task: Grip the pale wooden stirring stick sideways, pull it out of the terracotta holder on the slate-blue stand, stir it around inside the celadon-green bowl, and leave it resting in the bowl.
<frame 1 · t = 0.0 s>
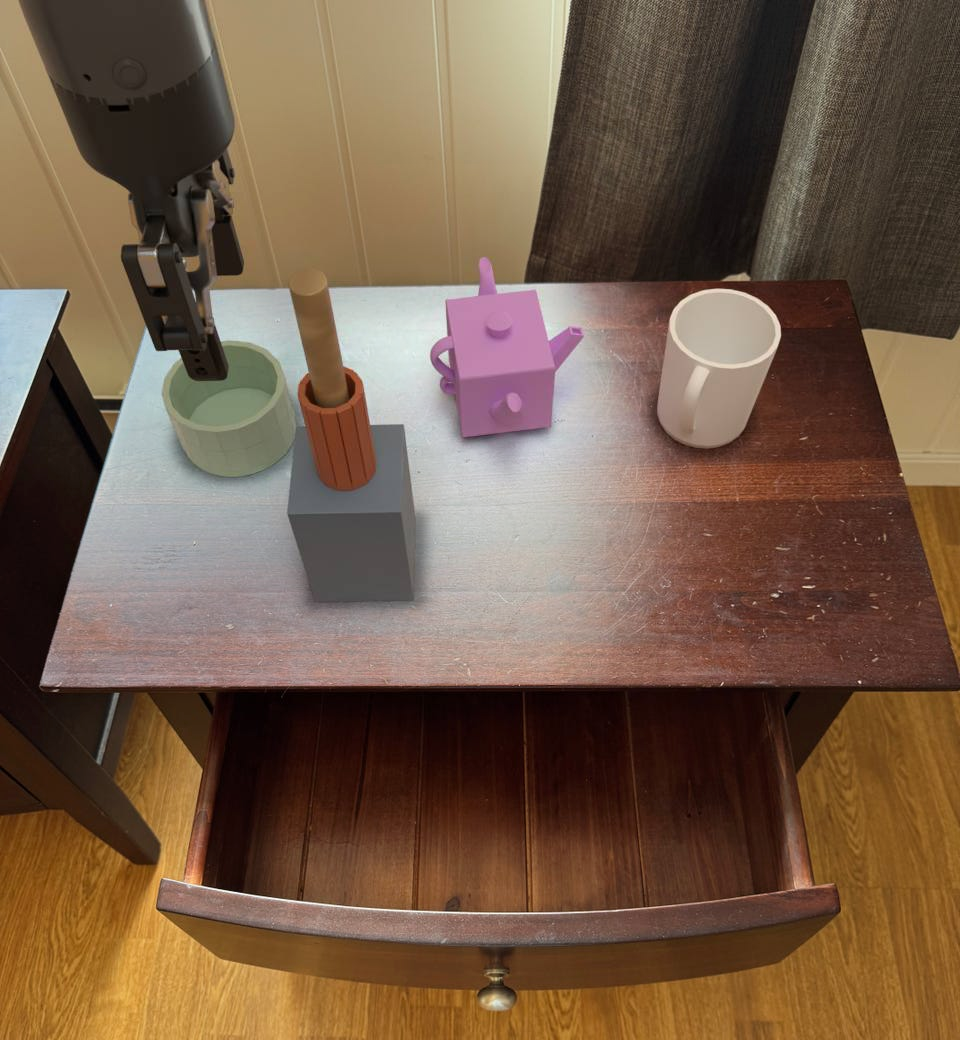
hand: (219, 322, 57), 26 cm above the nightstand, tool pointing down, fingers open, 8 cm apart
bowl: (239, 432, 87), on the nightstand
teapot: (506, 402, 88), on the nightstand
stick: (345, 462, 69), point 13 cm above the nightstand, touching holder
mug: (696, 424, 87), on the nightstand
holder: (366, 560, 80), on the nightstand
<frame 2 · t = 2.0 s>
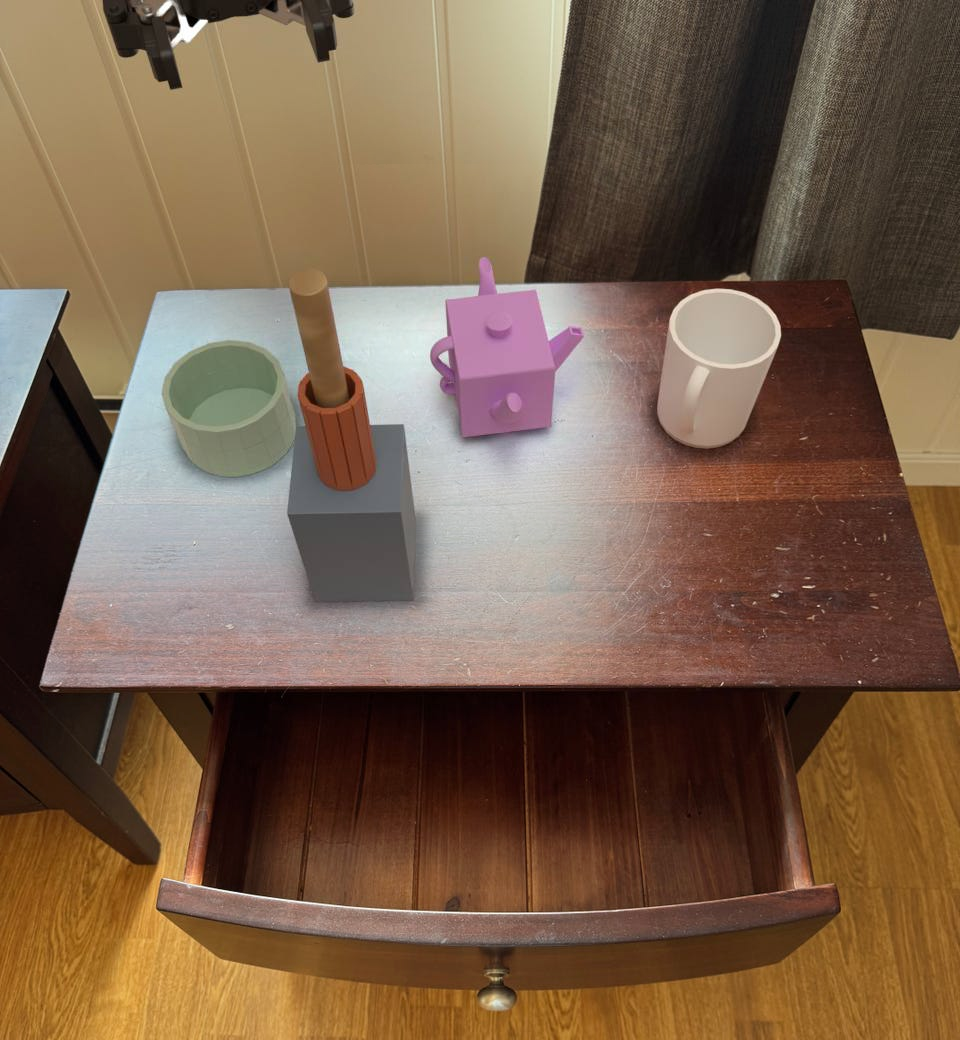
hand: (247, 59, 54), 35 cm above the nightstand, tool horizontal, fingers open, 8 cm apart
nothing on the nightstand moved.
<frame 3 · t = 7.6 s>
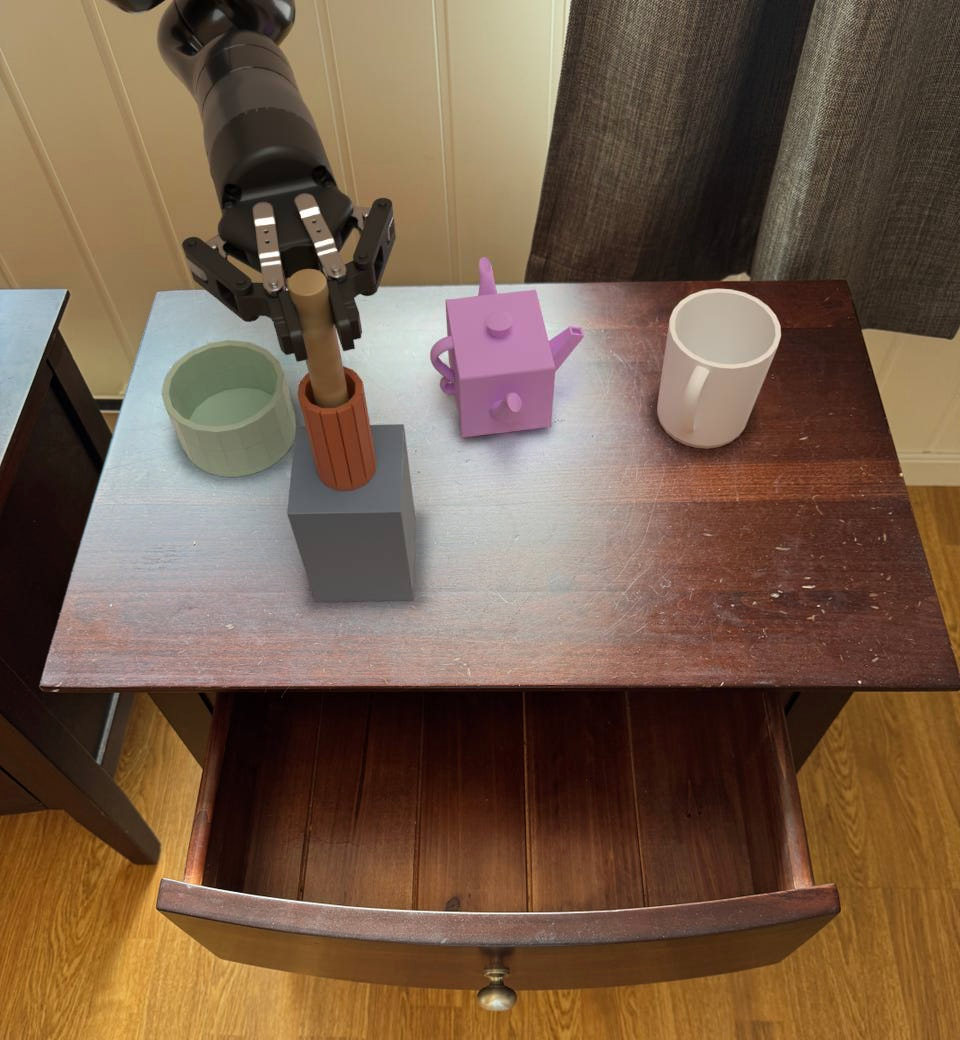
hand: (324, 343, 55), 27 cm above the nightstand, tool horizontal, fingers closed on stick, 2 cm apart
stick: (345, 462, 69), point 13 cm above the nightstand, touching gripper, holder
everything else where it was.
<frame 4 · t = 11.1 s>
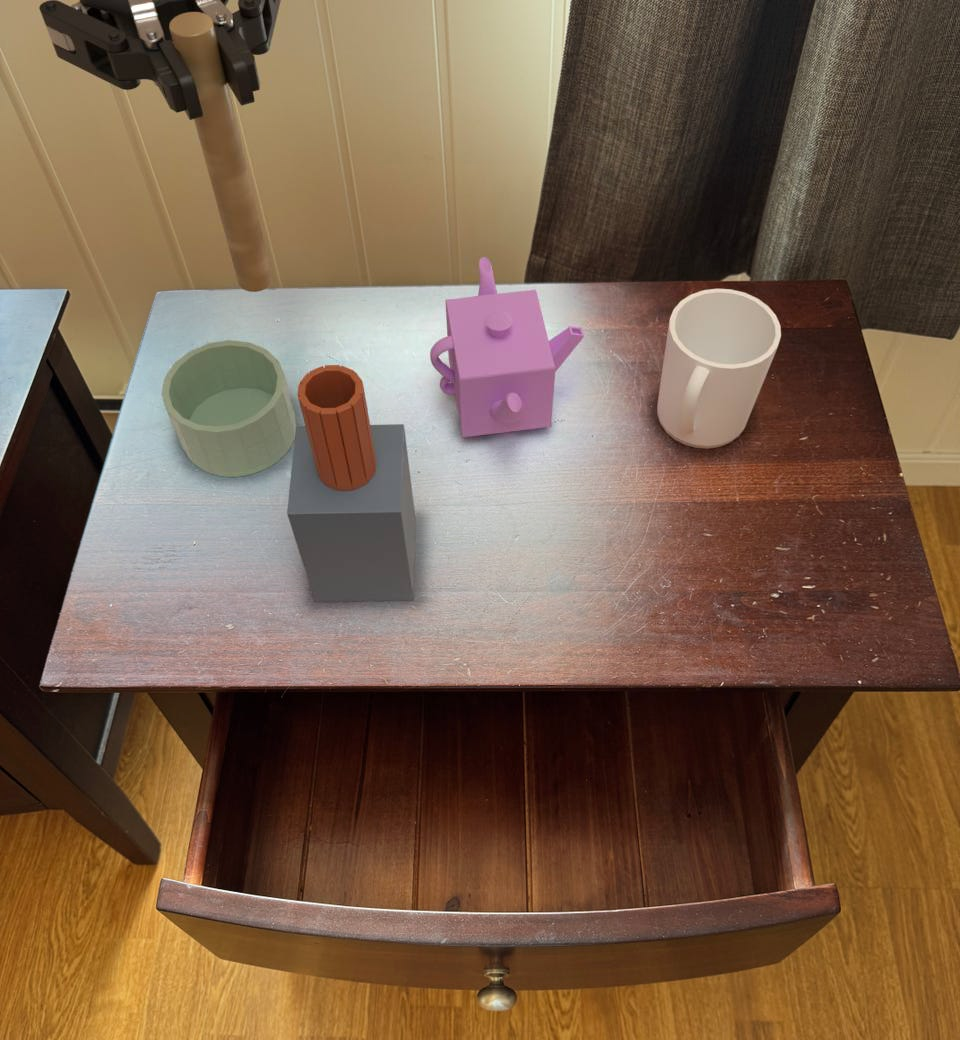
hand: (219, 93, 49), 37 cm above the nightstand, tool horizontal, fingers closed on stick
stick: (255, 280, 63), point 23 cm above the nightstand, touching gripper
everything else where it was.
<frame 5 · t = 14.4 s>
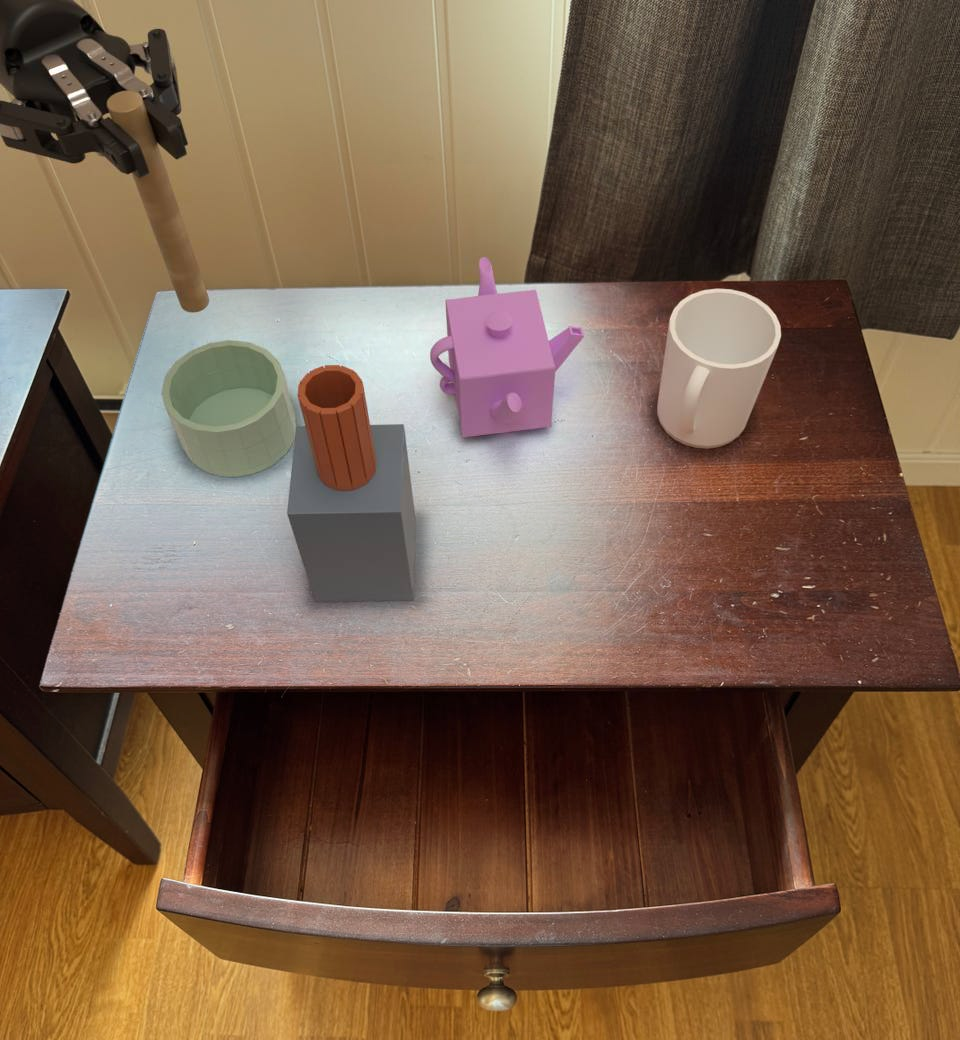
hand: (159, 152, 61), 29 cm above the nightstand, tool horizontal, fingers closed on stick, 2 cm apart
stick: (195, 302, 74), point 15 cm above the nightstand, touching gripper
everything else where it was.
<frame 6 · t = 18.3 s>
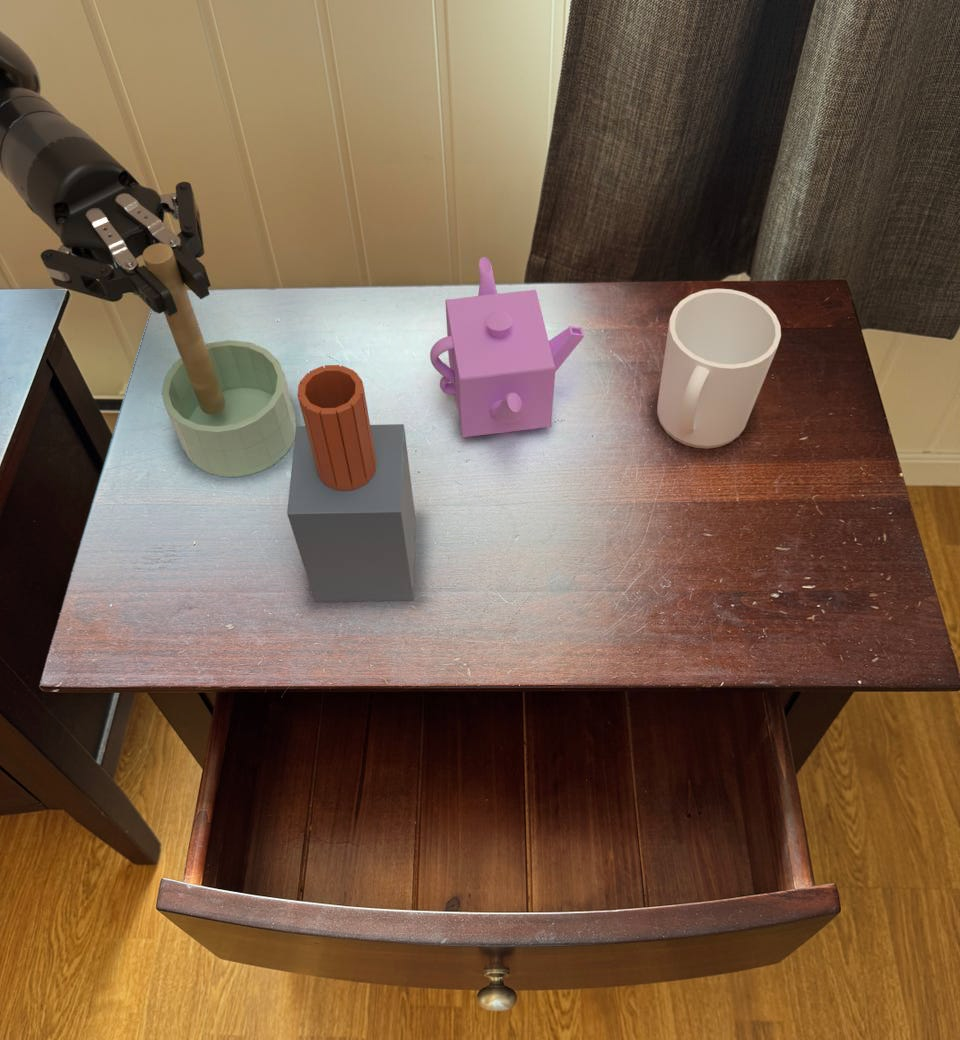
hand: (186, 295, 71), 17 cm above the nightstand, tool horizontal, fingers closed on stick, 2 cm apart
stick: (213, 405, 85), point 3 cm above the nightstand, touching gripper
everything else where it was.
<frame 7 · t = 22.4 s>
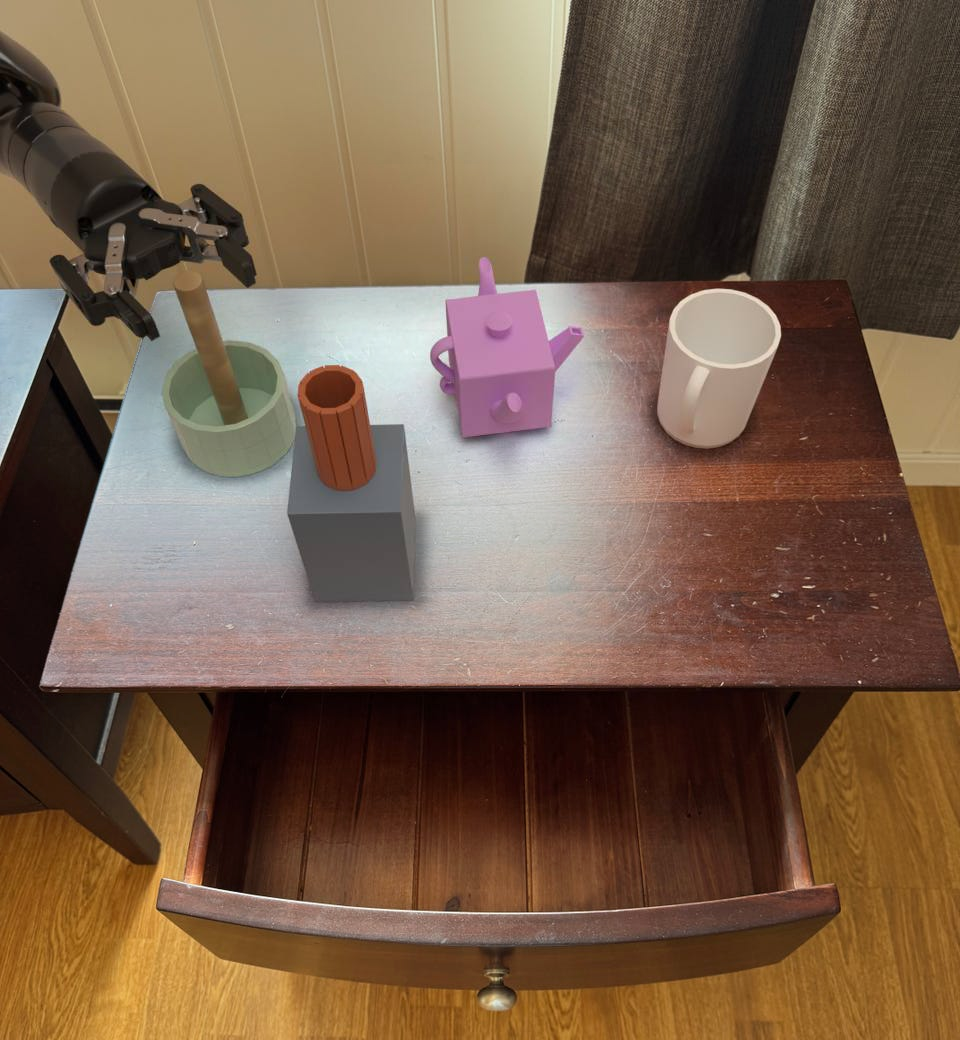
hand: (202, 302, 72), 16 cm above the nightstand, tool horizontal, fingers open, 8 cm apart
stick: (237, 425, 86), point 1 cm above the nightstand, touching bowl
everything else where it was.
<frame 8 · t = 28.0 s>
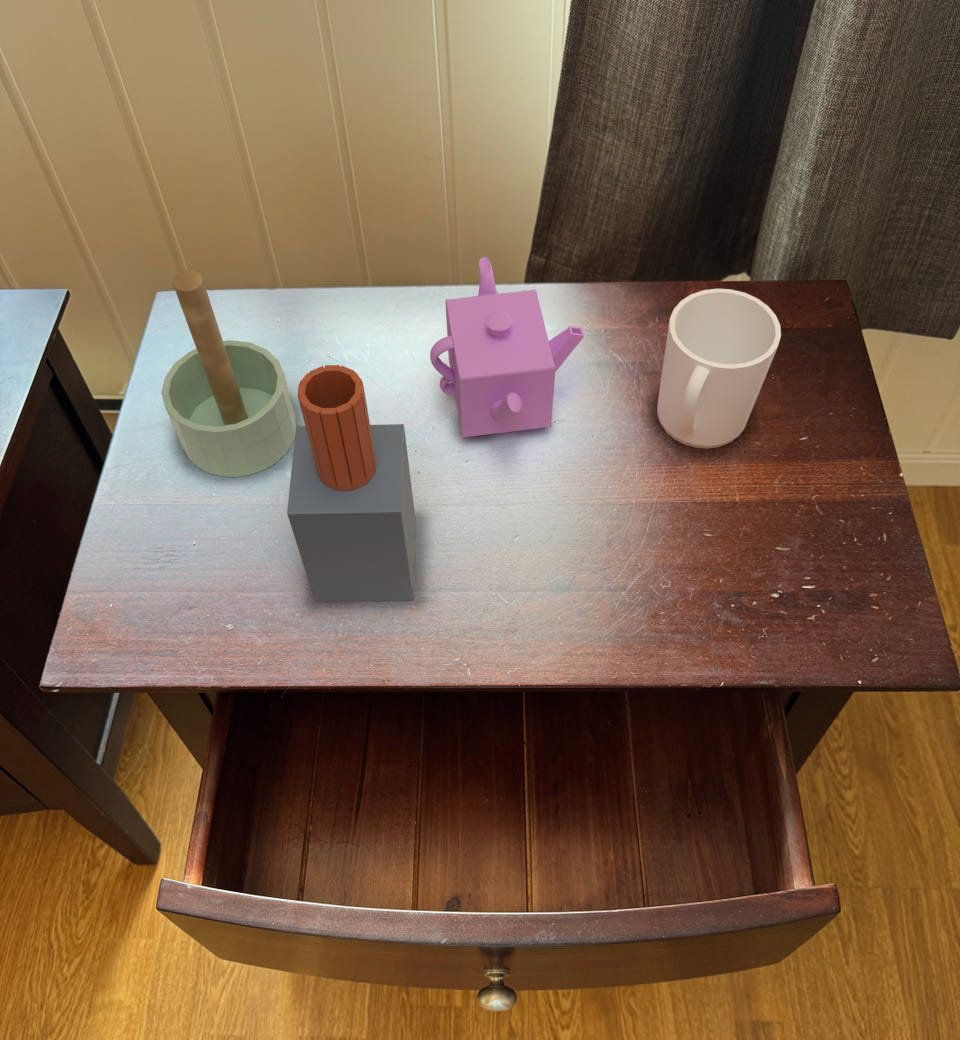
nothing on the nightstand moved.
at the end: stick moved 22.0 cm from its start; stick inside the target area in the bowl (0.1 cm from its centre), point 0.8 cm above the bowl's base; the gripper is holding nothing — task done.
